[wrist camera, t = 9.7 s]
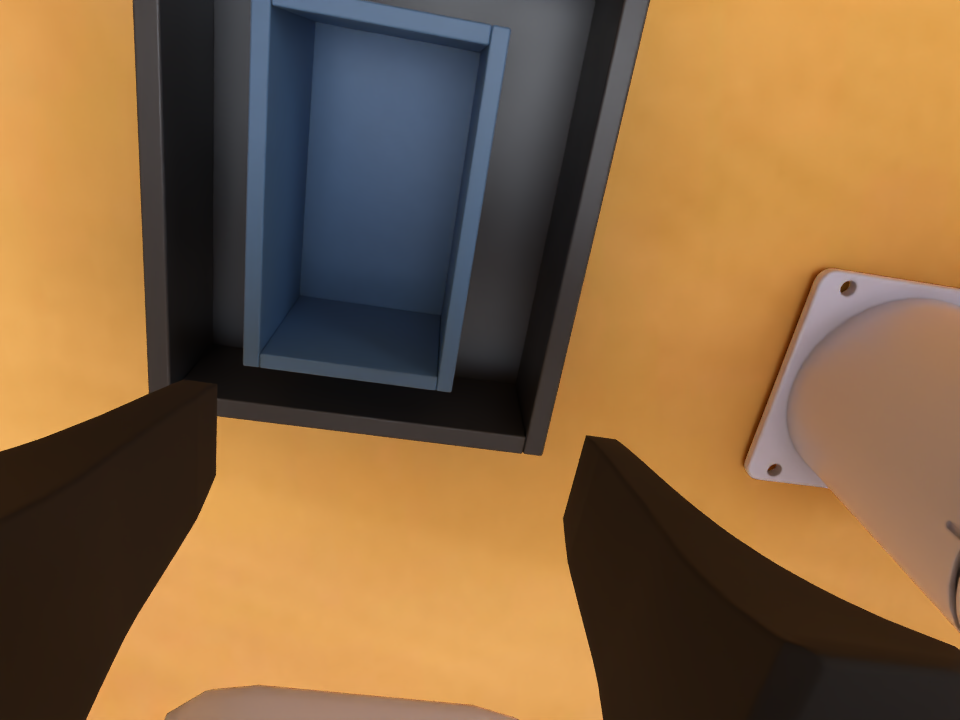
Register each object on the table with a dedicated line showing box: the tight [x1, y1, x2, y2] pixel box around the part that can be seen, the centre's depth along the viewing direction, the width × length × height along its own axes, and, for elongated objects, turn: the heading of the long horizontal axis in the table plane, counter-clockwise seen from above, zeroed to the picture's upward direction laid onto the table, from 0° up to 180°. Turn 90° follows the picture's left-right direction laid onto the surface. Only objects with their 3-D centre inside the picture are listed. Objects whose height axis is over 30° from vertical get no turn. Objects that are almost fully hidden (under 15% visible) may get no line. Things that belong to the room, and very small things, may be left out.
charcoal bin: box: [133, 0, 650, 456], centre depth 18 cm, size 11×13×4 cm
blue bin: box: [243, 0, 511, 392], centre depth 17 cm, size 8×5×5 cm, turn 170°
